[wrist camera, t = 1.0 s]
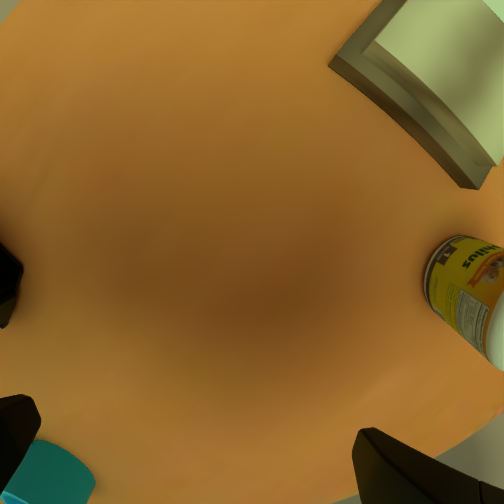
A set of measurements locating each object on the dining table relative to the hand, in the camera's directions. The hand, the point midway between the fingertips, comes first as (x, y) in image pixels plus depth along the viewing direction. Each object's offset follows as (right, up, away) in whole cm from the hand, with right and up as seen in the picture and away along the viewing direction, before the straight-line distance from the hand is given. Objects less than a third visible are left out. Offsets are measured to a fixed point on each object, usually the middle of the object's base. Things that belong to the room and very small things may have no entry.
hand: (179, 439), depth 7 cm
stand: (+14, +16, +8) cm, 23 cm away
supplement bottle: (+15, +3, +12) cm, 19 cm away
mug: (-20, -17, +17) cm, 31 cm away
